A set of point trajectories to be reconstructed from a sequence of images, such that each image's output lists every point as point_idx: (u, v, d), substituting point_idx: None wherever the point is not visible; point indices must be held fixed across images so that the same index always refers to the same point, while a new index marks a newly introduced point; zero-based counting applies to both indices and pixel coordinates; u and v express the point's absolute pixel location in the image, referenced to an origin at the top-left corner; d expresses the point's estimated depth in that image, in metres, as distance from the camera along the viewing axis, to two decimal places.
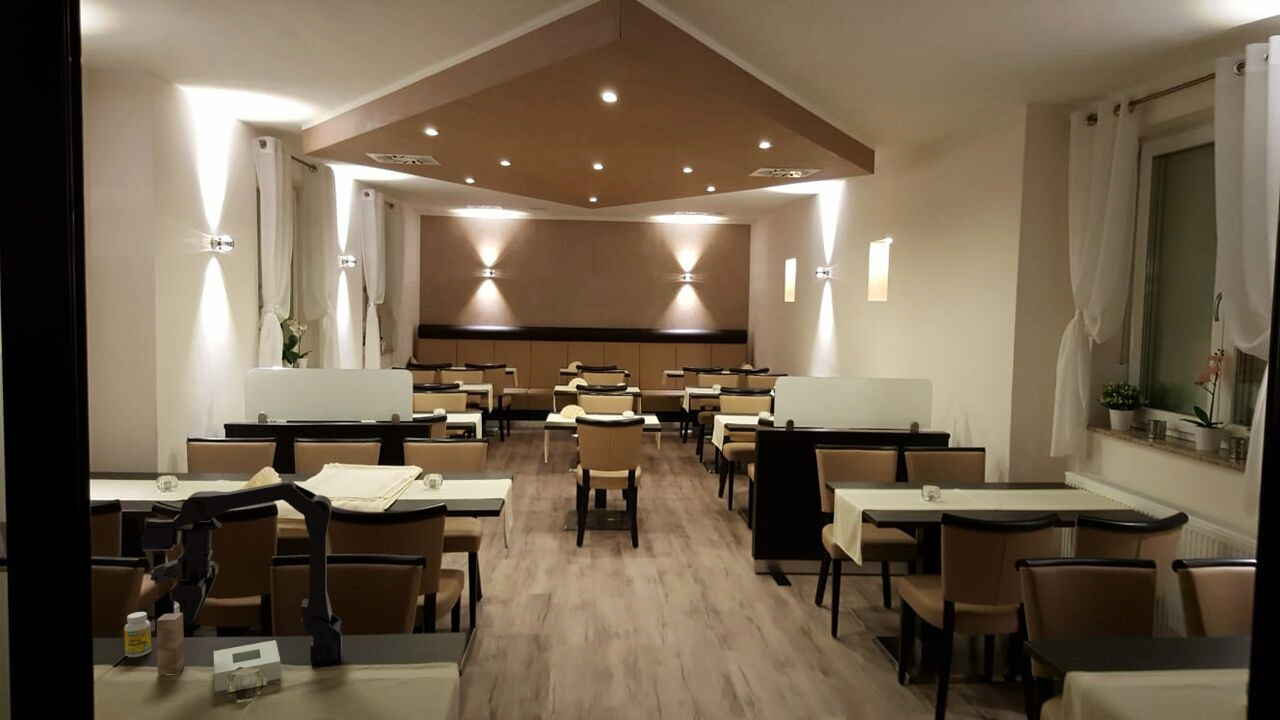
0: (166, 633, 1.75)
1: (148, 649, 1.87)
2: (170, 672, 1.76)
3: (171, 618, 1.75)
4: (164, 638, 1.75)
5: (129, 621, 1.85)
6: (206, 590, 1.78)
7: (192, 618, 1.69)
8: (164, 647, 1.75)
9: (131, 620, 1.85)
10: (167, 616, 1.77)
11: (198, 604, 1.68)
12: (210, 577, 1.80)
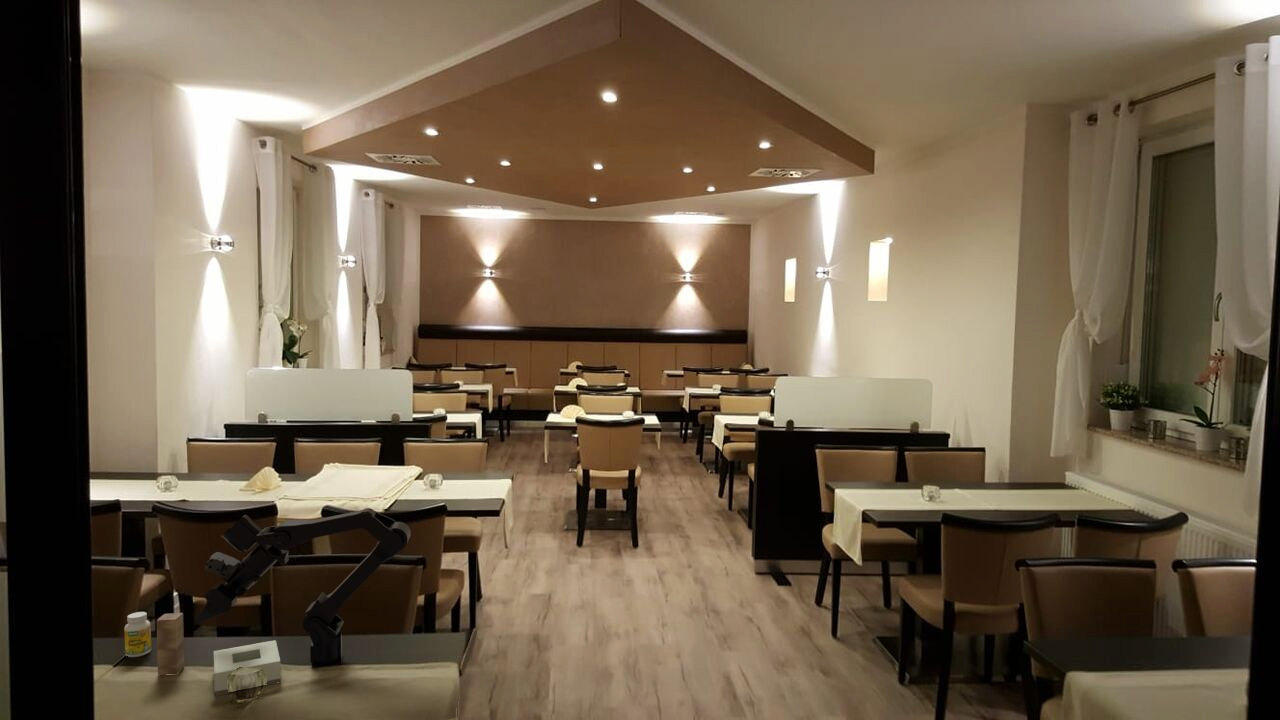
0: (166, 633, 1.75)
1: (148, 649, 1.87)
2: (170, 672, 1.76)
3: (171, 618, 1.75)
4: (164, 638, 1.75)
5: (129, 621, 1.85)
6: None
7: (204, 619, 1.73)
8: (164, 647, 1.75)
9: (131, 620, 1.85)
10: (167, 616, 1.77)
11: (218, 613, 1.73)
12: None
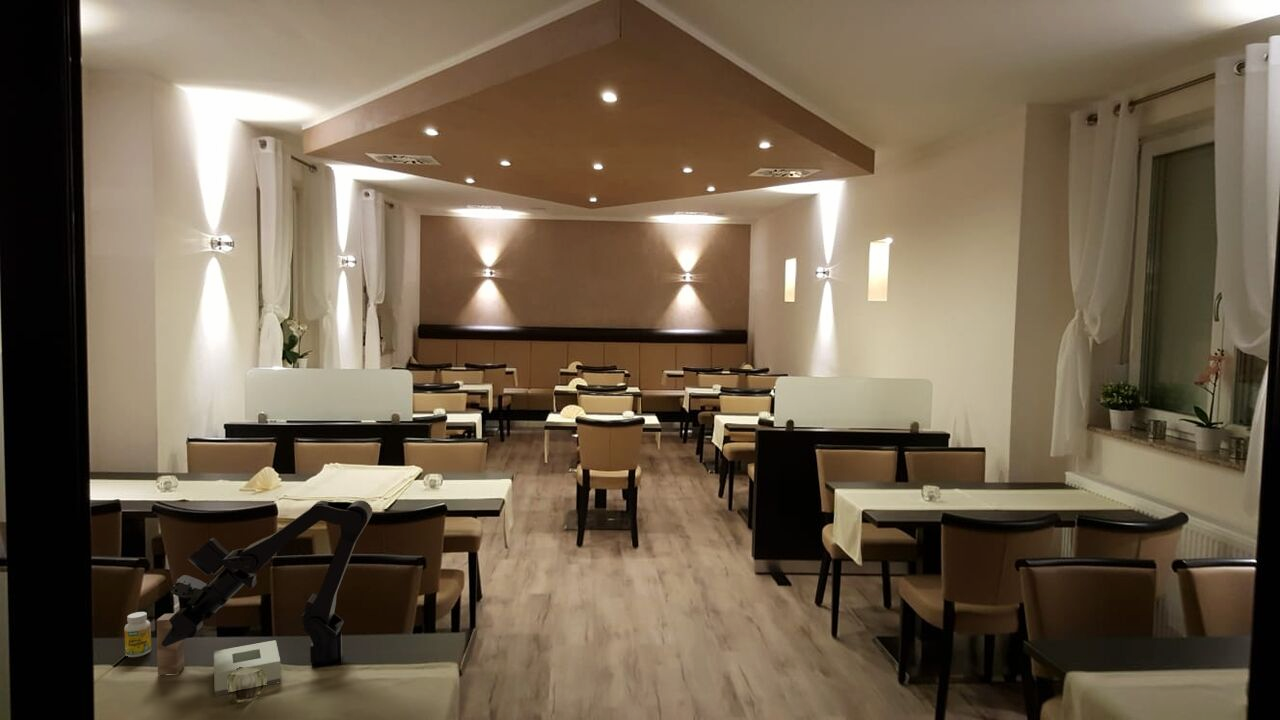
0: (166, 633, 1.75)
1: (148, 649, 1.87)
2: (170, 672, 1.76)
3: None
4: (164, 638, 1.75)
5: (129, 621, 1.85)
6: None
7: (169, 643, 1.72)
8: (164, 647, 1.75)
9: (131, 620, 1.85)
10: (167, 616, 1.77)
11: (183, 638, 1.72)
12: None
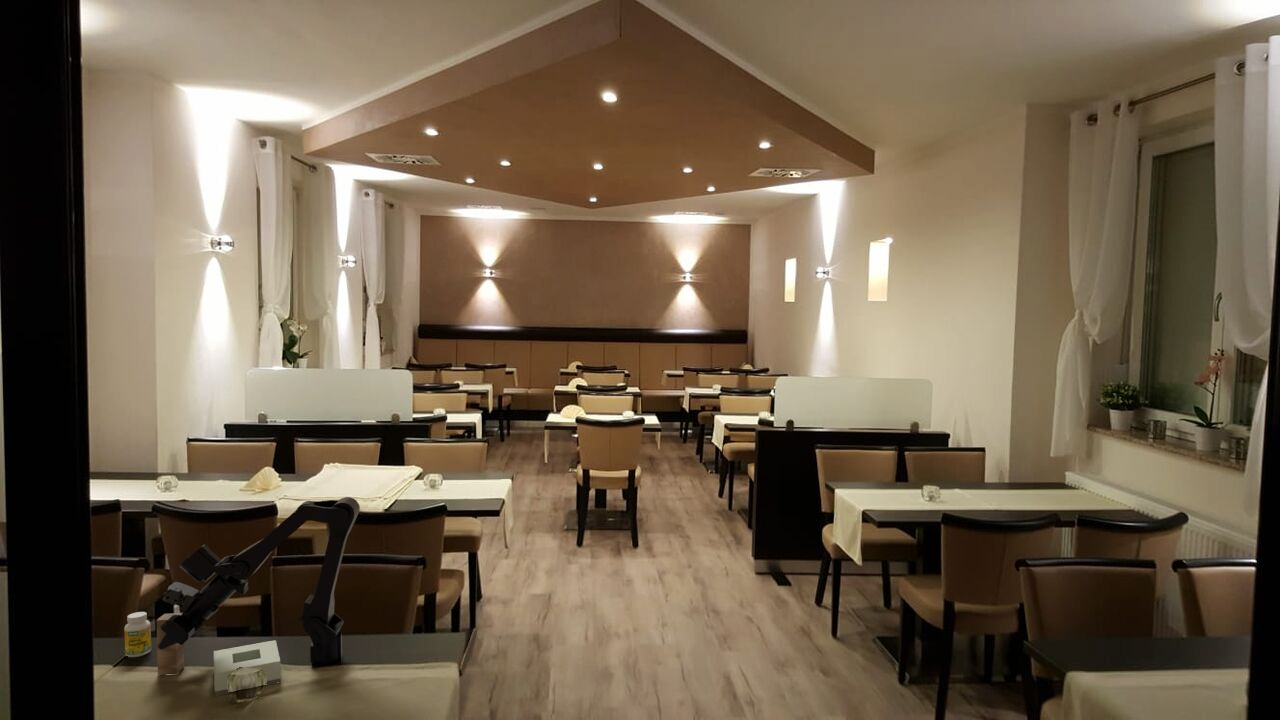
0: None
1: (148, 649, 1.87)
2: (170, 672, 1.76)
3: None
4: None
5: (129, 621, 1.85)
6: None
7: (166, 646, 1.74)
8: None
9: (131, 620, 1.85)
10: (167, 616, 1.77)
11: None
12: None
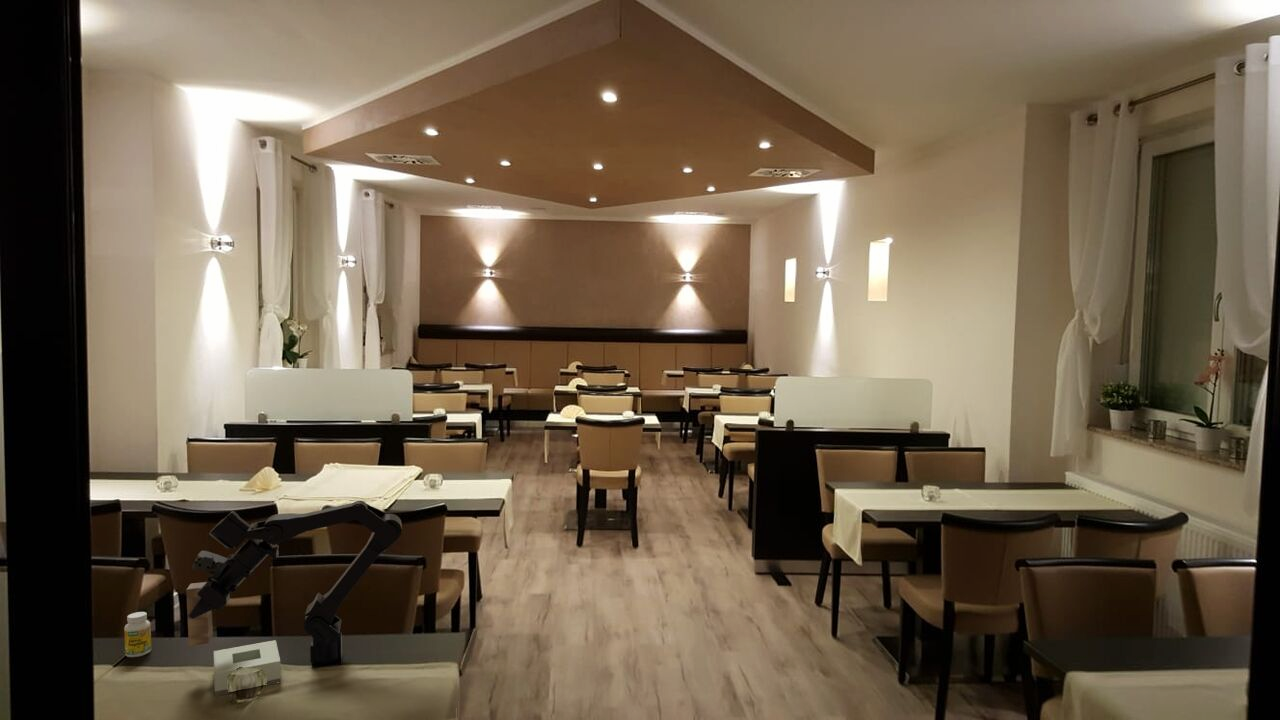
0: (197, 602, 1.72)
1: (148, 649, 1.87)
2: (201, 641, 1.73)
3: (201, 587, 1.73)
4: None
5: (129, 621, 1.85)
6: None
7: (197, 615, 1.72)
8: None
9: (131, 620, 1.85)
10: (196, 585, 1.74)
11: (212, 608, 1.72)
12: (226, 589, 1.79)
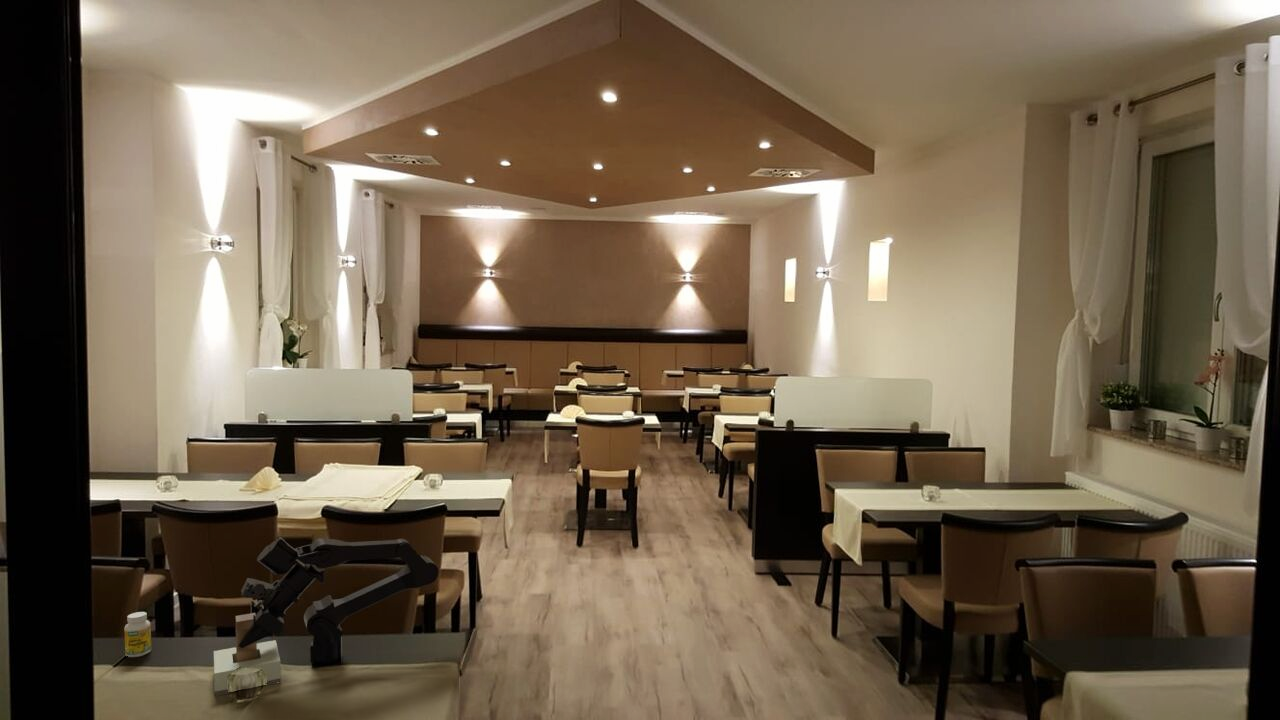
0: None
1: (148, 649, 1.87)
2: None
3: (250, 618, 1.73)
4: None
5: (129, 621, 1.85)
6: None
7: (248, 644, 1.71)
8: (244, 648, 1.72)
9: (131, 620, 1.85)
10: (243, 617, 1.74)
11: (264, 636, 1.72)
12: None
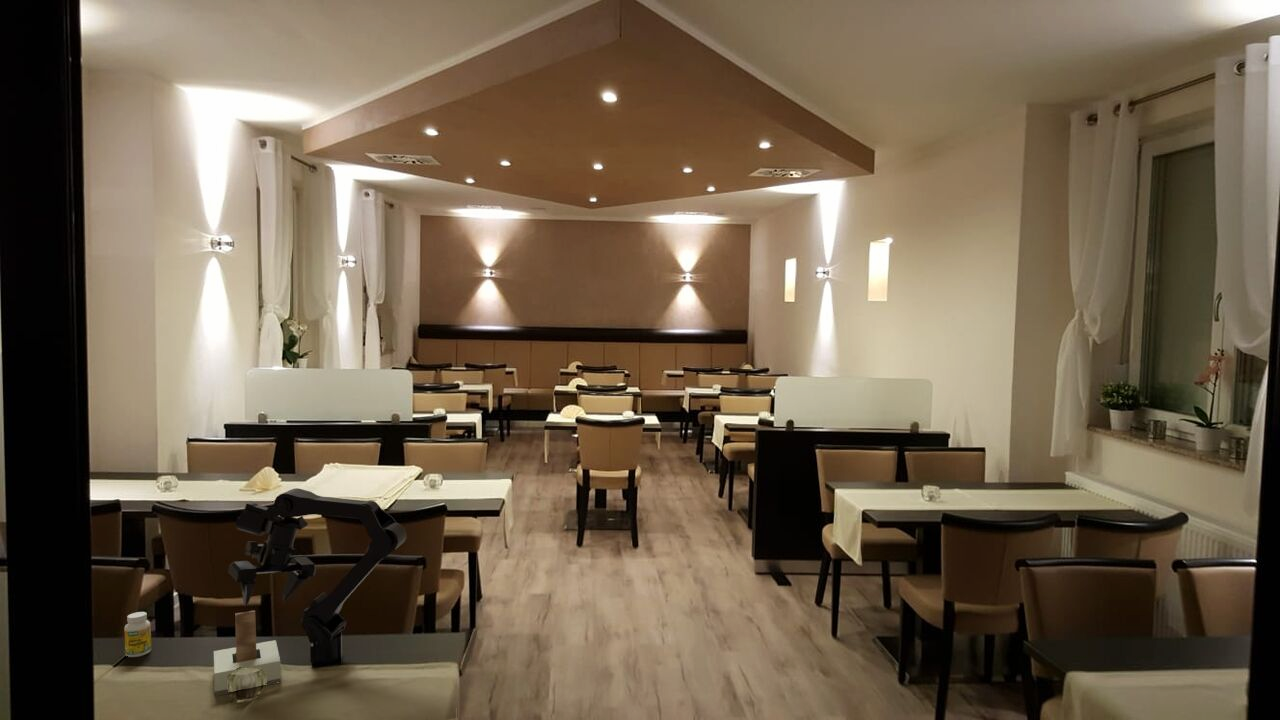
0: (245, 627, 1.74)
1: (148, 649, 1.87)
2: None
3: (249, 612, 1.76)
4: (243, 633, 1.74)
5: (129, 621, 1.85)
6: (291, 586, 1.86)
7: (245, 600, 1.79)
8: (243, 642, 1.74)
9: (131, 620, 1.85)
10: (242, 613, 1.76)
11: (246, 589, 1.77)
12: (301, 576, 1.86)
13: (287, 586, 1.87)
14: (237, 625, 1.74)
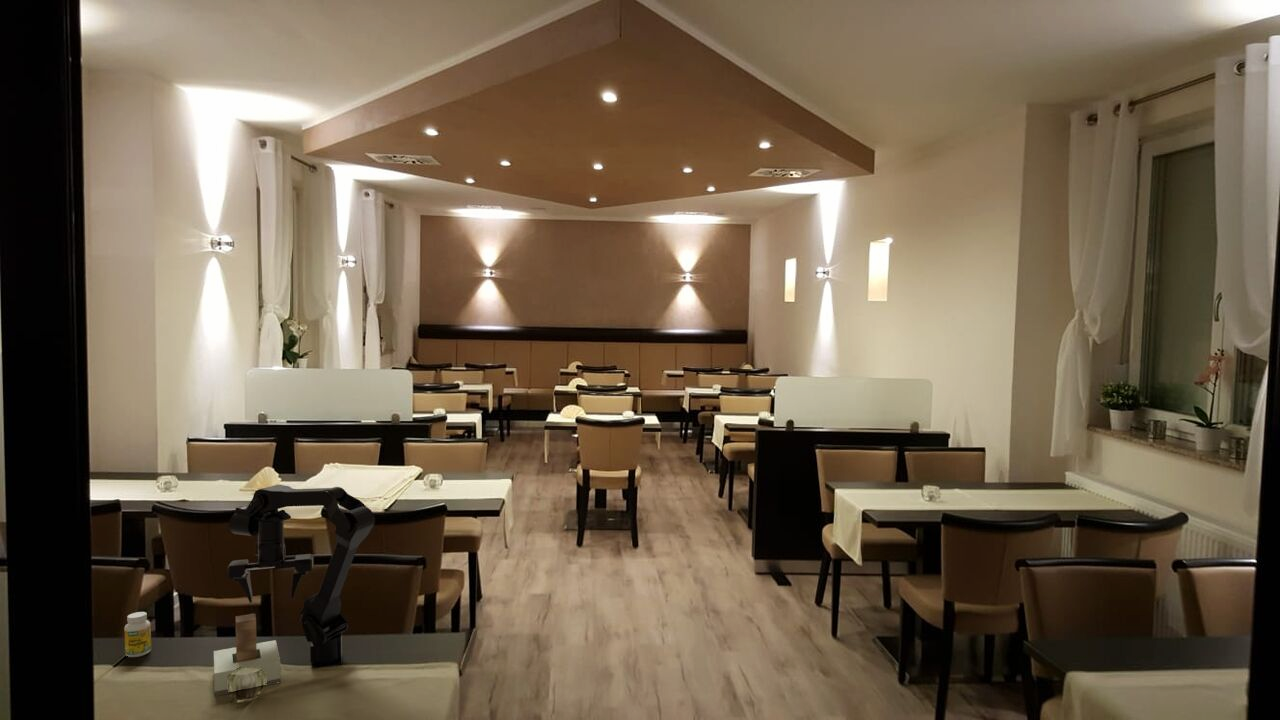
0: (246, 634, 1.72)
1: (148, 649, 1.87)
2: None
3: (250, 619, 1.73)
4: (244, 640, 1.72)
5: (129, 621, 1.85)
6: (292, 582, 1.88)
7: None
8: (244, 649, 1.72)
9: (131, 620, 1.85)
10: (243, 618, 1.73)
11: None
12: None
13: None
14: (237, 632, 1.71)
